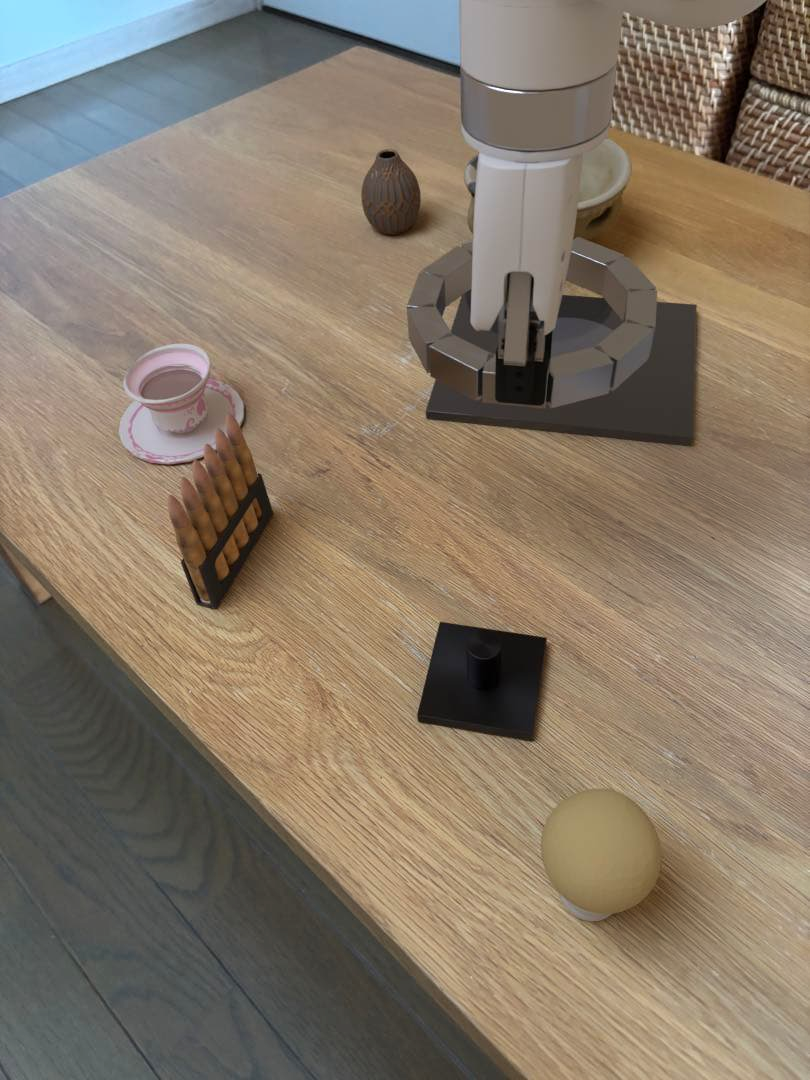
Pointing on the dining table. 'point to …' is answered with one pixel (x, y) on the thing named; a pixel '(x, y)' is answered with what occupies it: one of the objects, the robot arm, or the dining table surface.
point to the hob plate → (627, 412)
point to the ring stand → (483, 681)
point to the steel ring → (566, 372)
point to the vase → (390, 194)
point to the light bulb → (600, 853)
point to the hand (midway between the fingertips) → (522, 385)
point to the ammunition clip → (220, 515)
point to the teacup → (175, 405)
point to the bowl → (585, 189)
